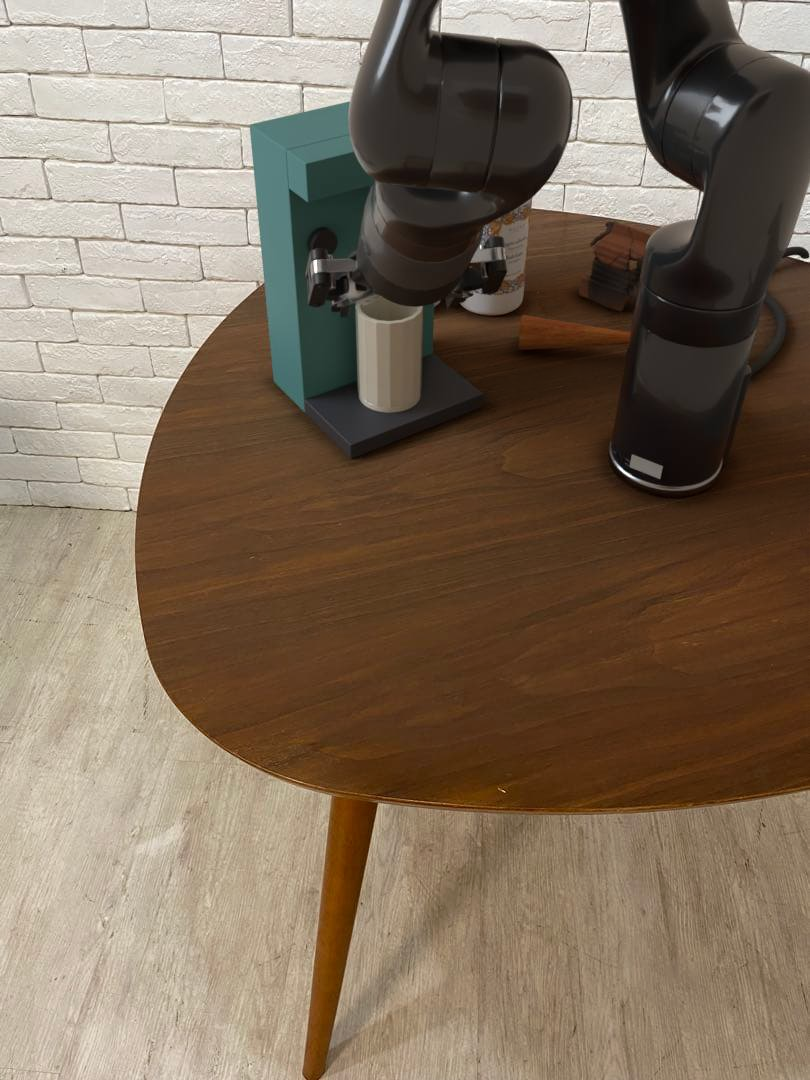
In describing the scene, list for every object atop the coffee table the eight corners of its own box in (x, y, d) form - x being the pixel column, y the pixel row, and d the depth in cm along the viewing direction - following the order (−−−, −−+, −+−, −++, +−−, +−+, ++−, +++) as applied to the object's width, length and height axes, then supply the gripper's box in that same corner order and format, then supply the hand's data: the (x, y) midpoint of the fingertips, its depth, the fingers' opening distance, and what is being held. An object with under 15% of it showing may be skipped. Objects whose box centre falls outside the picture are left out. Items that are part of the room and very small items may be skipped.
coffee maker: (398, 338, 104) (398, 89, 88) (482, 407, 95) (500, 145, 79) (273, 381, 98) (248, 124, 82) (351, 459, 90) (340, 188, 73)
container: (346, 400, 93) (342, 311, 87) (380, 370, 97) (379, 282, 91) (399, 420, 91) (399, 329, 85) (432, 389, 95) (434, 300, 89)
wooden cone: (526, 293, 103) (738, 302, 98) (524, 350, 106) (730, 362, 102) (518, 312, 98) (741, 323, 94) (516, 373, 101) (732, 385, 97)
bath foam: (482, 324, 106) (494, 125, 92) (443, 295, 110) (449, 101, 97) (536, 305, 109) (555, 109, 95) (495, 278, 113) (509, 87, 99)
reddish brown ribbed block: (555, 287, 112) (583, 211, 110) (621, 310, 117) (650, 237, 115) (620, 313, 103) (652, 230, 100) (689, 336, 107) (722, 257, 105)
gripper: (523, 166, 68) (479, 248, 84) (302, 180, 66) (301, 260, 82) (535, 281, 67) (489, 340, 84) (314, 297, 66) (310, 354, 82)
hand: (396, 300), depth 83 cm, fingers open, 8 cm apart
